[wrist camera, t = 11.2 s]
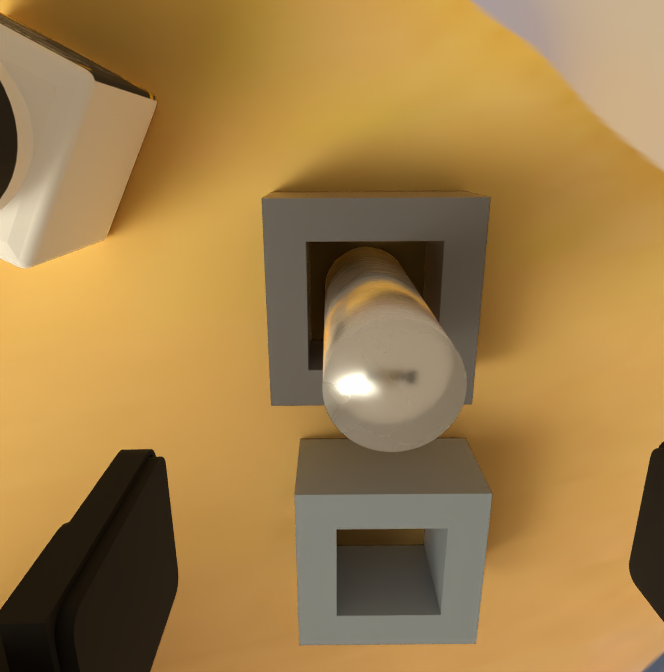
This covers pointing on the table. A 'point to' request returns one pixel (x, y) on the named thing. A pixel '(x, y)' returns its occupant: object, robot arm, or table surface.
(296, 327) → the grey square ring
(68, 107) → the medicine bottle
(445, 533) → the socket block
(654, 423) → the table surface
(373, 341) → the steel rod
